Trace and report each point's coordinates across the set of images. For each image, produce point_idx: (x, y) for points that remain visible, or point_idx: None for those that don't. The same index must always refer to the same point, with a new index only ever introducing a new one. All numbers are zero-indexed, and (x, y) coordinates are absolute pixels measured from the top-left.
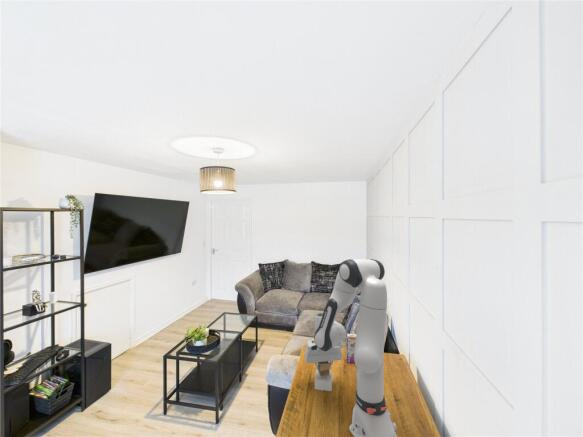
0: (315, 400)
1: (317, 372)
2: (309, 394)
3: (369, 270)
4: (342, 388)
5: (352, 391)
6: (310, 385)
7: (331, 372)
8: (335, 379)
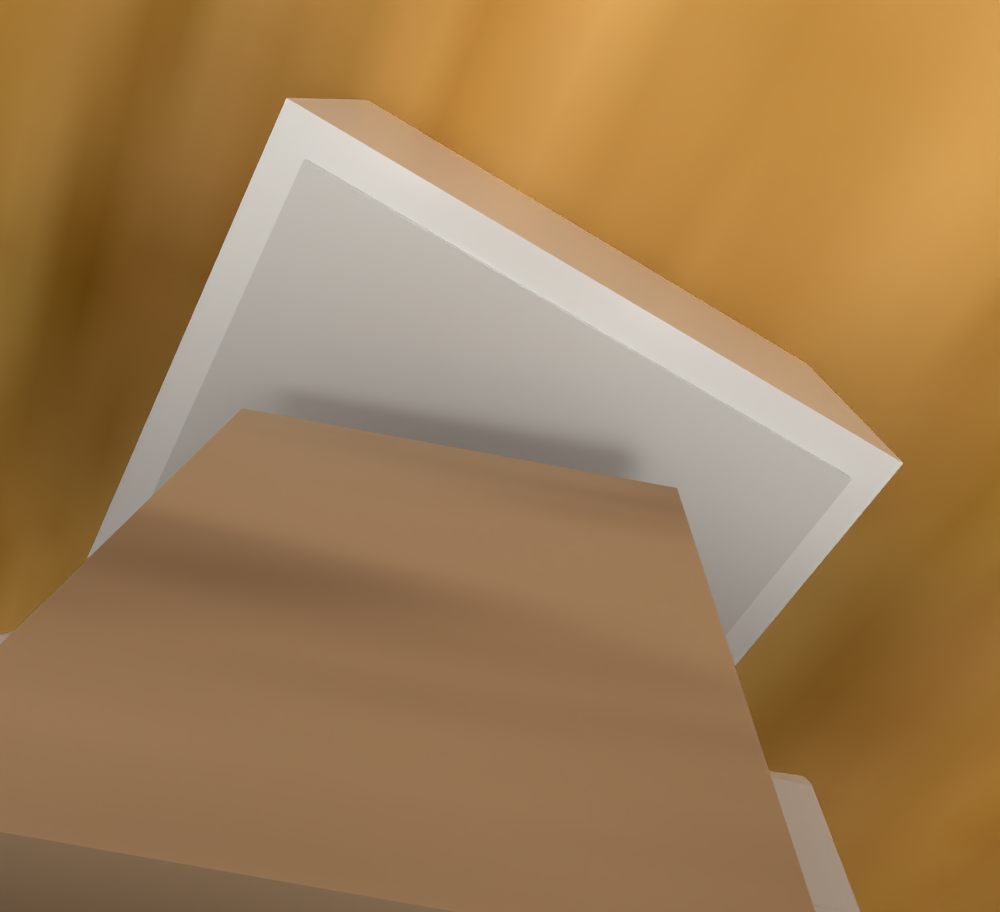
0: None
1: (277, 314)
2: (10, 616)
3: None
4: (850, 711)
5: (992, 852)
6: (104, 342)
7: (845, 487)
8: (923, 357)
